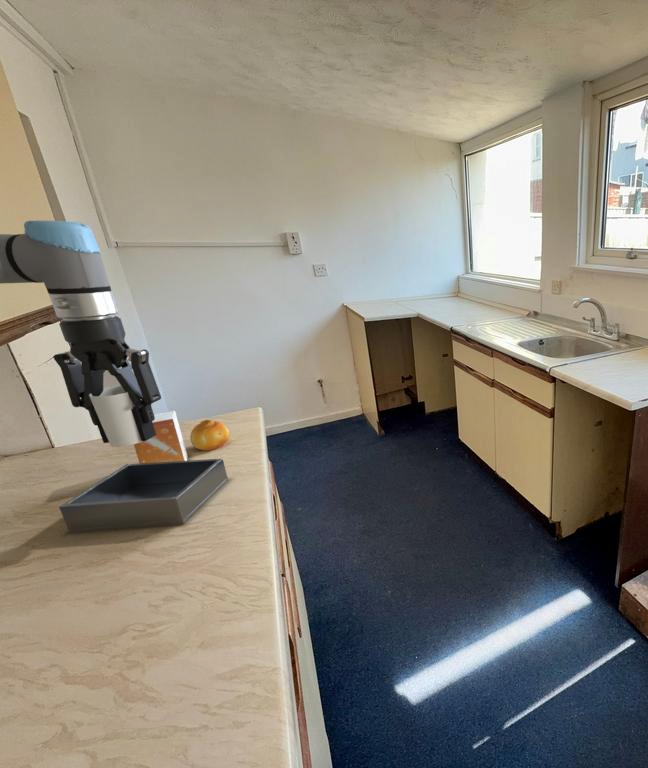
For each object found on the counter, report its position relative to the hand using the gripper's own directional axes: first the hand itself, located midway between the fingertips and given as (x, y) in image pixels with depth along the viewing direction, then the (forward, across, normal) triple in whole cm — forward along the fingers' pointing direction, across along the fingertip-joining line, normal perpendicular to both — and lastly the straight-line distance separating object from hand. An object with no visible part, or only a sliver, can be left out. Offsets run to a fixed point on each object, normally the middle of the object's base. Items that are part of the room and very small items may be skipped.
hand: (130, 438), depth 75 cm
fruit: (+16, -5, +29) cm, 34 cm away
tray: (+16, -1, +2) cm, 16 cm away
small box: (+16, -10, +19) cm, 27 cm away
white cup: (0, 0, 0) cm, 0 cm away
